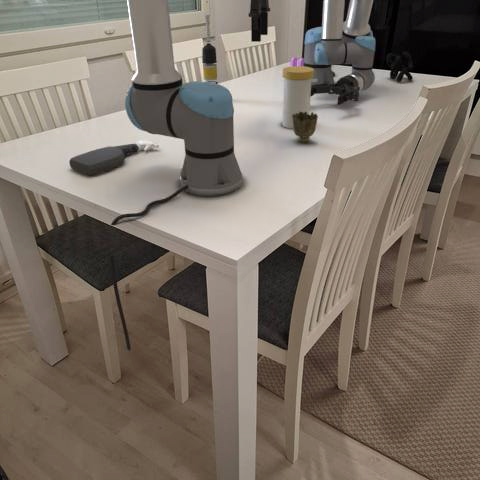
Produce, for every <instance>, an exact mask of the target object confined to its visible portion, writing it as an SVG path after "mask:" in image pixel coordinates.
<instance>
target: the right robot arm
mask: <svg viewBox="0 0 480 480" xmlns="http://www.w3.org/2000/svg"><path fill="white" fill-rule="evenodd" d="M345 2H346V0H323V1H322V20H321V21H322V22H321V26H317V27H314V28H313V27H312V28H310V29H308V30H307V31H306V33H305V37H304V51H303V53H304V54H303V58H304V67H310V68H313V69H314V73H313V78H312V80H311V96H310V97H313V96H314V95H319V94H321V95H322V94H328V95H335V96H336V95H338V96H337V102H336V105H338V106H340V105H343V104H345V103H347V102H349V101H350V102H352V101H353V100H354V102H358V101H359V96H360V95H361V93H360V92H363V91H366V90H368V89H369V88H370V87H371V86H373V84H374V83H375V80H376V75H375V73H374V71H373V65H374V59H375V52H376V38H375V37H374V34H373V30H371V26H370V24H369V20H370V16H371V12H372V8H373V4H374V0H349V3H348V8H347V15H346V19H345V21H344V17H345V16H344V15H345V4H346V3H345ZM332 65H333V66H334V65H351V73H348V74H347V75H344V76H342V77H340V78H339V79H338V80H337V81H336V82H335V80H334V79H335V78H334V77H335V76H336V72H334V71H333V70H332Z"/></svg>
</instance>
